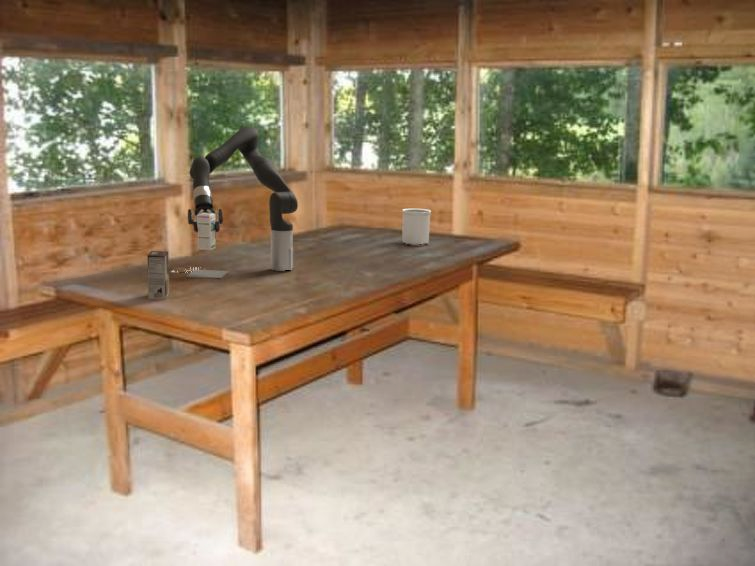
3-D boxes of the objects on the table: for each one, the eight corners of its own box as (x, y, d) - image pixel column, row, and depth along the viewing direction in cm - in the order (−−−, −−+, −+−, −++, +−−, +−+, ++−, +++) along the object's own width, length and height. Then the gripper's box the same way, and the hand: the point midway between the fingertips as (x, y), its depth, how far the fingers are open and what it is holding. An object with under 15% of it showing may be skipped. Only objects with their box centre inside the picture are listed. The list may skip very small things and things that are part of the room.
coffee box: (151, 293, 320) (151, 250, 317) (169, 294, 321) (169, 250, 318) (147, 299, 312) (146, 255, 308) (166, 299, 312) (165, 255, 309)
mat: (228, 272, 365) (228, 271, 365) (221, 278, 351) (220, 277, 351) (194, 270, 365) (194, 269, 365) (186, 277, 351) (186, 276, 351)
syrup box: (210, 250, 353) (210, 215, 350) (197, 249, 354) (196, 214, 351) (216, 248, 359) (216, 213, 355) (202, 247, 360) (202, 212, 357)
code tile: (205, 267, 372) (205, 267, 372) (199, 273, 360) (199, 272, 360) (178, 266, 372) (178, 266, 372) (170, 272, 361) (170, 271, 361)
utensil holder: (430, 246, 448) (431, 212, 445) (401, 245, 448) (402, 211, 445) (428, 241, 463) (430, 208, 459) (400, 240, 463) (402, 208, 459)
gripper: (219, 204, 367) (223, 236, 359) (185, 205, 362) (188, 236, 354) (221, 193, 361) (225, 225, 353) (186, 193, 356) (189, 226, 348)
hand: (207, 231), depth 354 cm, fingers closed on syrup box, 7 cm apart
